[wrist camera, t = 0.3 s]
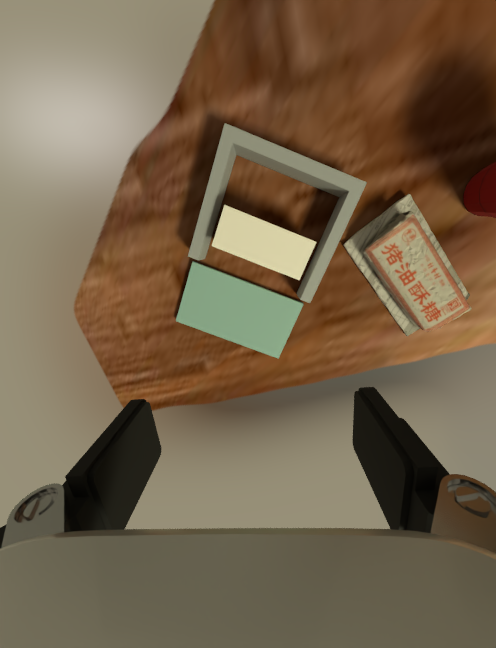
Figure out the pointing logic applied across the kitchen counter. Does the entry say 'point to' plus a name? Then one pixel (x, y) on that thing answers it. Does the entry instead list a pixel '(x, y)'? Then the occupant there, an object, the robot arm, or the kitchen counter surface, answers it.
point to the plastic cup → (482, 192)
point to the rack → (286, 164)
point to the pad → (237, 310)
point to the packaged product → (408, 269)
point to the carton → (262, 243)
